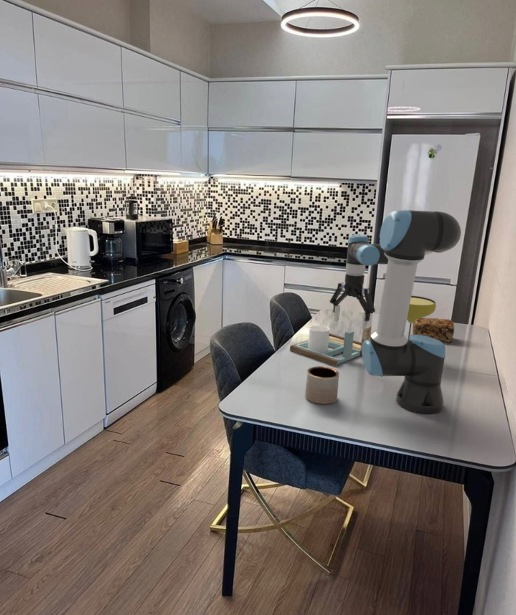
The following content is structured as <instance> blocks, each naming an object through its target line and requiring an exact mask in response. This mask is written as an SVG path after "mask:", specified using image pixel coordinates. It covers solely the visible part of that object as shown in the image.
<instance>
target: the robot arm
mask: <svg viewBox="0 0 516 615" xmlns="http://www.w3.org/2000/svg"><path fill="white" fill-rule="evenodd" d="M461 235H462V228H461V226H460V223H459V222H458V220H457V219H456V218H455V217H454V216H452V215H451V214H450V213H447V212H445V211H437V210H436V211H434V210H433V211H430V210H429V211H428V210H411V209H410V210H409V209H403V210H401V209H400V210H392V211H391V212H389V213H388V214H387V215H386V216H385V218H384V220H383V221H382V224H381V227H380V231H379V243H369V237H368V235H365V234H364V235H362V234H351V235H349V237H348V241H347V255H346V265H345V275H344V282H338V283H337V287H336V290H335V291H334V293H333V295H332V297H331V298H330V300H329V303H330V304H332V305H333V310H332V312H333V313H334V316H333V322H337V321H339V320H340V314H341V312H340V311H341V305H340V304H341V302H343V300H345V299H346V298H347V297H352V298H356V299H357V300H358V302H359V304H360V306H361V308H362V309H363V311H364V312H363V313H362V314H363V315H362V320H361V321H362V322H361V329H362V330H363V329H365V328H367V326H368V322H369V321H370V319H371V314H372V313H375V312H376V308H375V305H374V302H373V299H372V298H373V297H372V295H371V288H369V287H367V288H364V283H365V282H364V281H365V275H364V274H366V266H368V267H369V266H370V267H371V266H374V265H386V272H385V278H384V284H383V289H382V296H381V301H380V307H379V313H378V319H377V326H376V329H375V330H373V331H371V335H370V340H366V341H364V342H363V345H362V355H361V356H362V361H363V362H362V363H363V366H364V368H365V370H366V373H367V374H368V375H370V376H372V377H381V378H382V377H404V380H403V382H402V383H401V384H400V387H399V389H398V391H397V393H396V400H395V401H396V403H397V404H398V405H399V406H400V407H402V408H403V409H406V410H408V411H411V412H414V413H418V414H419V413H420V414H431V415H432V414H437V413H440V412H442V411H443V410H444V402H445V401H444V395H443V391H442V387H441V385H442V380H443V379H442V378H443V372H444V366H445V359H446V358H447V357H446V350H447V349H446V345H445V344H444V342H440V341H439V340H437V339H434V338H431V337H427V336H423V335H413V334H410V338H409V341H408V337H407V336H406V335H405V331H406V327H407V326H406V325H407V322H408V320H407V316H408V311H409V305H410V300H411V296H413V295H412V294H413V289H414V284H415V278H416V273H417V269H418V264H419V263H421V262H422V261H423V260H425V256H426V255H429V254H432V253H438V254H439V253H444V252H447V251H450V250H452V249H453V248H455V247H456V246H457V244H458V243H459V242H460V240H461ZM343 289H344V291H343ZM342 291H343V292H342ZM341 293H342V294H341Z"/></svg>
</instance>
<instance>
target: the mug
mask: <svg viewBox="0 0 516 615" xmlns="http://www.w3.org/2000/svg"><path fill="white" fill-rule="evenodd" d="M329 333H330V327H327V326H324V325H311V326H310V327H309V330H308V340H309V342H308V347H307V349H310V350H313V351H316V352H319V353H325V352H328V351H329V346H328V342H329Z"/></svg>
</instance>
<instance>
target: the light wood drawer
mask: <svg viewBox="0 0 516 615" xmlns="http://www.w3.org/2000/svg"><path fill="white" fill-rule="evenodd" d="M371 333H372V326H371V325H367V328H365V329H362V333H361V345H358V344H355V343H353V348H357V349H360V350H362V345H363V342H364V341H366V340H370V337H371ZM329 340H330V341H334V342H337V343H340V344H344V340H341V339H338V338H334V337H331V336H329Z"/></svg>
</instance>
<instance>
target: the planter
mask: <svg viewBox="0 0 516 615" xmlns="http://www.w3.org/2000/svg"><path fill="white" fill-rule="evenodd" d="M339 378H340V372H339V371H338V370H336V369H335V368H332V367H329V366H322V365H321V366H320V365H319V366H318V365H317V366H312V367H309V368H308V369H307V371H306V382H305V392H304V393H305V394H304V395H305V398H306V399H307V400H308V401H310V402H311V403H313V404H317V405H329V404H330V405H331V404H333V403H335V402H336V401H337V399H338V392H339V381H340V380H339Z"/></svg>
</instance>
